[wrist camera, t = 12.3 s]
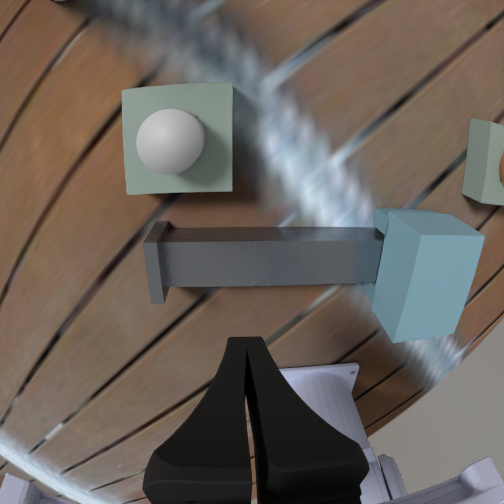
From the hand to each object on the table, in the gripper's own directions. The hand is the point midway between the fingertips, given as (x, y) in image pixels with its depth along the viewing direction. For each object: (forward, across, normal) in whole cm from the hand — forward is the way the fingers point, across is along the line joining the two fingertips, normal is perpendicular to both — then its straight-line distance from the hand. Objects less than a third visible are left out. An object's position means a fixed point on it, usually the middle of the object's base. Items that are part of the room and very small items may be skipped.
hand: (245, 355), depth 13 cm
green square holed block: (+10, -20, -8) cm, 24 cm away
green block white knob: (+10, +4, -8) cm, 13 cm away
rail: (+10, -6, 0) cm, 11 cm away
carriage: (+10, -12, -1) cm, 15 cm away
